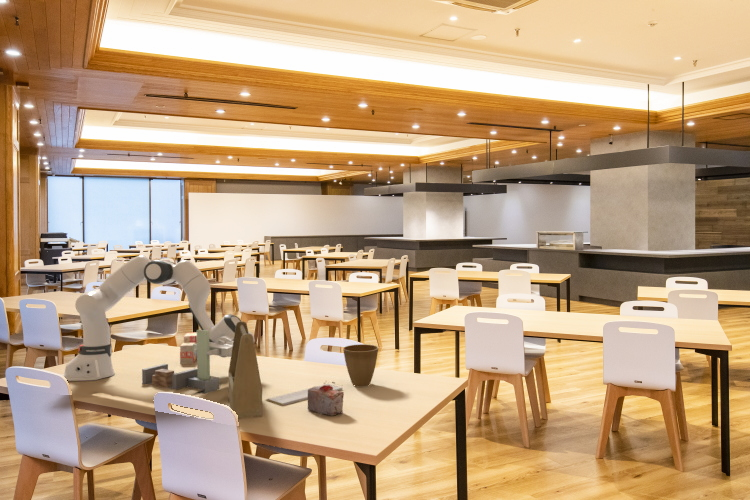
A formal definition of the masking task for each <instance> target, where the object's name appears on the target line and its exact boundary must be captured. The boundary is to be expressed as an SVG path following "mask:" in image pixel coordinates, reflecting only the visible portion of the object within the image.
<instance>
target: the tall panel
mask: <svg viewBox="0 0 750 500" xmlns="http://www.w3.org/2000/svg"><path fill="white" fill-rule="evenodd" d="M196 332H197V359H196V361H197V362H196V364H197V367H196V369H197V374H198V378H200V379H206V380H208V379H210V376H211V366H210V361H211V360H210V359H211V357H210V356H211V355H207V351H209V331H207V330H201V329H196Z"/></svg>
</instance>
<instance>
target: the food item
mask: <svg viewBox="0 0 750 500" xmlns="http://www.w3.org/2000/svg"><path fill="white" fill-rule="evenodd" d="M323 385H324V386H322V387H319V386H320V385H317V386H316V385H315V386H312V387H310V389H309V388H308V389H309V390H308V399H307V410H308V411H313V412H315V413H317V414H318V415H327V416H331V415H333V416H336V415H335V414H337V415H339V413H340V414H342V413H343V405H344V394H345V393H344V391H341V390H340V391H336V390H333V387H332V386H330V385H331V384H330V385H327V386H326V385H325V384H323Z"/></svg>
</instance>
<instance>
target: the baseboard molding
mask: <svg viewBox="0 0 750 500" xmlns="http://www.w3.org/2000/svg"><path fill="white" fill-rule="evenodd" d="M324 385H326V386H327V385H330V386H332V387H333V390H336V391H338V390H340V391H342V390H343V386H339V384H337V383H336V385H335V382H334V381H331V384H330V383H327V380H325V383H324V384H321V385H318V386H319V387H322V386H324ZM337 385H338V386H337ZM310 388H311V387H310ZM310 388H305V389H301V390H297V391H293V392H290V393H285V394H282V395H277V396H274V397H270V398H267V399H265V401H267V402H270V403H273V404H276V405H278V406H281V407H283V406H286V405H290V404H294V403H297V402H301V401H305V400H308V390H309V389H310Z"/></svg>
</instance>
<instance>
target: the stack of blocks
mask: <svg viewBox="0 0 750 500" xmlns="http://www.w3.org/2000/svg"><path fill="white" fill-rule="evenodd" d="M196 343H197V331H196V332H195V331H194V332H192V331H191V332H187V333H185V334H184V336H183V342H182V343H181V344H180V346H179V348H180V349H179V350H180V351H179V363H180V365H182V364H183V365H185V364H186V365H188V364H189V365H191V364H192V365H193V364H194V363H195V361H197V354H195V353H194V344H196Z"/></svg>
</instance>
